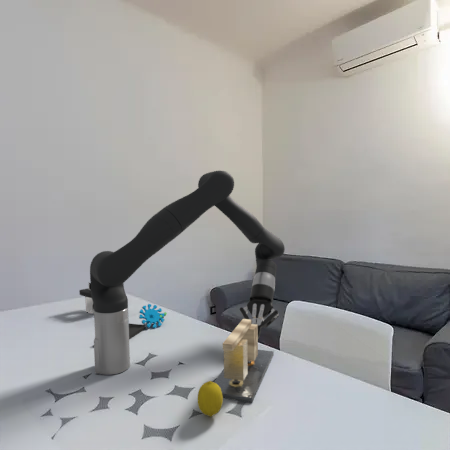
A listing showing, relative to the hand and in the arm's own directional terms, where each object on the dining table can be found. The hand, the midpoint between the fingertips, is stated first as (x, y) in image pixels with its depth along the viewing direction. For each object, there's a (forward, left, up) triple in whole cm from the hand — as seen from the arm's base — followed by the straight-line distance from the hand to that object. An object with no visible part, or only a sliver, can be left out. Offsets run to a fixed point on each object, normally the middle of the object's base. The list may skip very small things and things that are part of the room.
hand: (254, 338), depth 111 cm
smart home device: (-41, +25, -6) cm, 48 cm away
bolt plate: (-6, -10, -5) cm, 13 cm away
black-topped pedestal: (-52, +56, -6) cm, 77 cm away
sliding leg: (-8, -14, -3) cm, 17 cm away
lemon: (-18, -28, -5) cm, 34 cm away
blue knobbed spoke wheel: (-30, +35, -6) cm, 46 cm away
